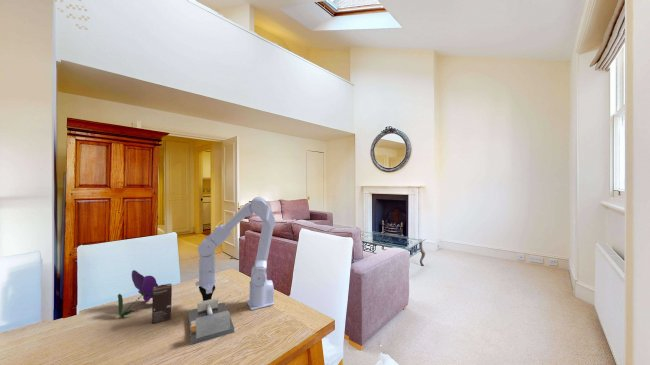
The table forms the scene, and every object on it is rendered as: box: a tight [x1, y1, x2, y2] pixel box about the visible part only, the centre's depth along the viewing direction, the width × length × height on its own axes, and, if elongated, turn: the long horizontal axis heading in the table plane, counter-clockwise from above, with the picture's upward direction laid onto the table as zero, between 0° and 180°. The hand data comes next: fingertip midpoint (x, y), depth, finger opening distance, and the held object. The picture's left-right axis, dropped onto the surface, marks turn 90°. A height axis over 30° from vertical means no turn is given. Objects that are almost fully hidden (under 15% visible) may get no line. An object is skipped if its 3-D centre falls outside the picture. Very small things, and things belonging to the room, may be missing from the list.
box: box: [151, 283, 173, 324], centre depth 93 cm, size 6×4×12 cm
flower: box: [117, 269, 159, 317], centre depth 98 cm, size 15×15×14 cm
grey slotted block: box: [197, 297, 219, 315], centre depth 94 cm, size 8×7×3 cm
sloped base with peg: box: [187, 301, 235, 345], centre depth 91 cm, size 20×13×6 cm, turn 31°
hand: (206, 304), depth 100 cm, fingers closed
